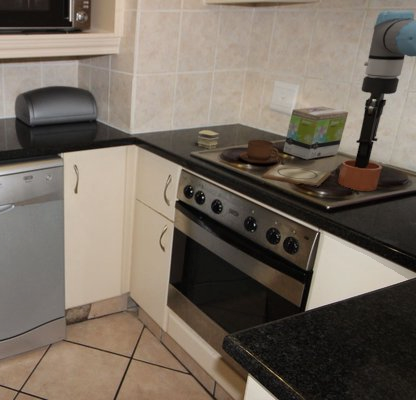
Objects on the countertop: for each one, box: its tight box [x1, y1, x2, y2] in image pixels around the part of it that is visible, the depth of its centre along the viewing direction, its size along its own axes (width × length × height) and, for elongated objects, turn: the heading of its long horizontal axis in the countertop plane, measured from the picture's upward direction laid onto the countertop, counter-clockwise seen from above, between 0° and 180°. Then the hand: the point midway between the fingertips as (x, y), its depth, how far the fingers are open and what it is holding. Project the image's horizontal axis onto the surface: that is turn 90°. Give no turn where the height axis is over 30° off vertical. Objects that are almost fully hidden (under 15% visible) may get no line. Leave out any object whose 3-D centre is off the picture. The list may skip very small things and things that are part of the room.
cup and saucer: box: [238, 139, 280, 165], centre depth 152 cm, size 12×12×6 cm
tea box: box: [283, 106, 349, 160], centre depth 158 cm, size 15×10×15 cm, turn 117°
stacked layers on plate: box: [197, 129, 220, 150], centre depth 169 cm, size 10×9×6 cm
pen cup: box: [337, 159, 383, 192], centre depth 130 cm, size 9×9×6 cm
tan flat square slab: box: [261, 163, 332, 186], centre depth 138 cm, size 15×14×1 cm
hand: (361, 165), depth 129 cm, fingers closed on marker, 2 cm apart
